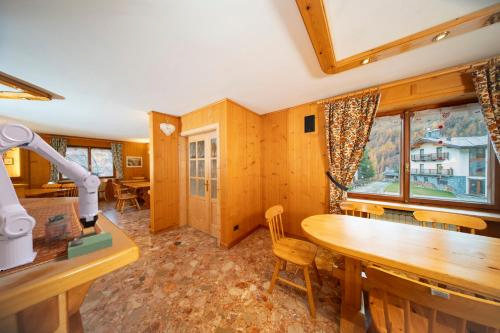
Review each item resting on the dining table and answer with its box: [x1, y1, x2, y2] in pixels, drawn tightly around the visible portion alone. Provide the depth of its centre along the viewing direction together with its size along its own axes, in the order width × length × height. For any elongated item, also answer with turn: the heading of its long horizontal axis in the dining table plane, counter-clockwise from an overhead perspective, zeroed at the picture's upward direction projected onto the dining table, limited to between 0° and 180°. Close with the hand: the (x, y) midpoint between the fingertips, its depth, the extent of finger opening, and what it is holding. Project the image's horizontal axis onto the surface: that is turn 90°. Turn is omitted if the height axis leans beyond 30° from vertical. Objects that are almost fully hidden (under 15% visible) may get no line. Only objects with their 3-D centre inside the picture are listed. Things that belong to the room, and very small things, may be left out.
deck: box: [67, 230, 113, 260], centre depth 59 cm, size 11×13×4 cm
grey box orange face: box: [80, 227, 98, 239], centre depth 63 cm, size 4×7×5 cm, turn 48°
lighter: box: [43, 212, 72, 243], centre depth 67 cm, size 8×3×10 cm, turn 179°
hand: (89, 233), depth 67 cm, fingers closed
